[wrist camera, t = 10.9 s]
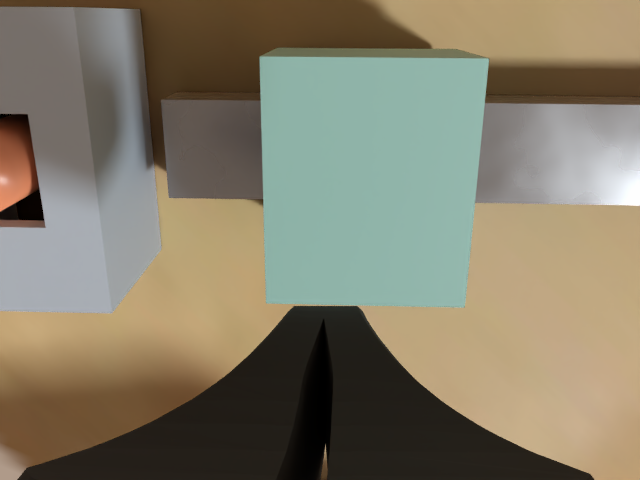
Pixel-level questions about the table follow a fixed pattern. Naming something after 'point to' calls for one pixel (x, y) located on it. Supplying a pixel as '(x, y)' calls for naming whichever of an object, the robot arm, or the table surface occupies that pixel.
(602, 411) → the table surface
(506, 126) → the rail
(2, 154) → the orange rounded knob
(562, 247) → the table surface
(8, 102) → the end cabinet
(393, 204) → the block
